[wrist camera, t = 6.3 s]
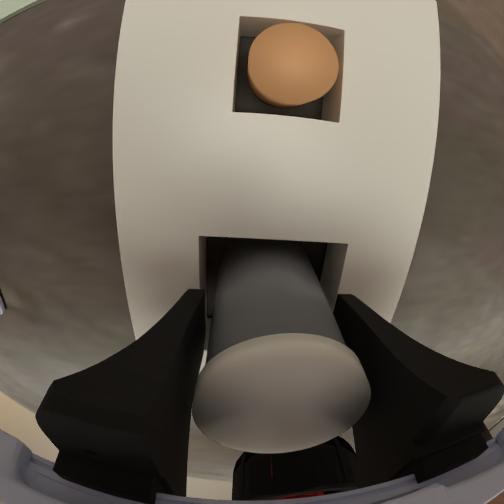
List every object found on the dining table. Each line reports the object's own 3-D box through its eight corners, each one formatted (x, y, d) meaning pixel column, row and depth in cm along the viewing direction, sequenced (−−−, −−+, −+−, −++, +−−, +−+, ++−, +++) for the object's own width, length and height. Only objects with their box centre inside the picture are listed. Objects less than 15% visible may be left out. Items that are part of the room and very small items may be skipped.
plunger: (316, 112, 10) (335, 108, 8) (245, 104, 10) (245, 98, 8) (320, 48, 9) (340, 30, 7) (249, 40, 9) (251, 18, 7)
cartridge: (305, 314, 15) (342, 447, 8) (214, 311, 15) (199, 451, 8) (321, 229, 13) (397, 351, 6) (215, 223, 13) (184, 353, 6)
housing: (354, 348, 16) (367, 377, 14) (154, 343, 16) (144, 373, 14) (409, 14, 9) (436, 0, 6) (152, -16, 8) (135, -39, 6)
